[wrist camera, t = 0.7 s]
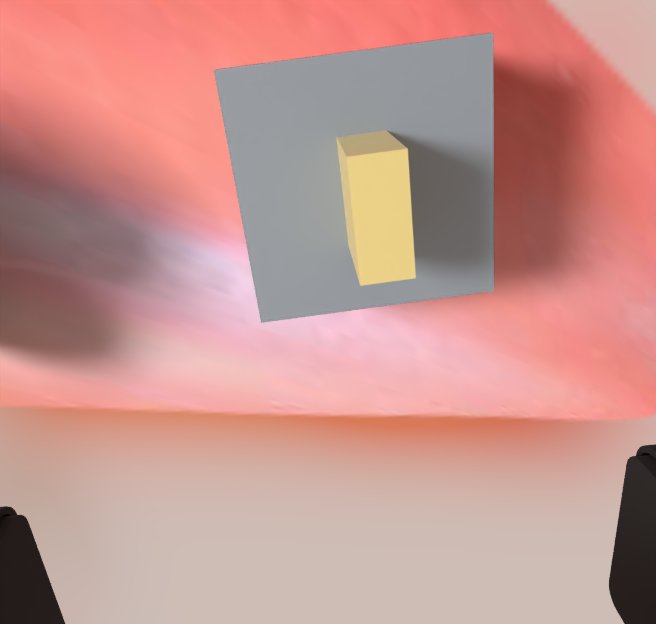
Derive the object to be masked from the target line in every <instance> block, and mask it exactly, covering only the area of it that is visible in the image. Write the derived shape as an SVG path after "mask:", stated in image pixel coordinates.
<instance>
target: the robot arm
mask: <svg viewBox="0 0 656 624" xmlns="http://www.w3.org/2000/svg"><path fill="white" fill-rule="evenodd" d="M609 590H610V595H611V598H612V601H613V604H614V606H615V608H616V610H617V611H618V613H619V615H620V616H621V618H622V620H623V622H624V623H625V624H656V445H646V446H642V447H640V448H639V449H638V451H637V454H636V456H633V457H630V458H629V459H628V461H627V465H626V472H625V478H624V485H623V492H622V499H621V505H620V512H619V519H618V525H617V532H616V538H615V545H614V552H613V559H612V565H611V573H610V578H609ZM0 624H65V622H64V619H63V616H62V614H61V611H60V608H59V605H58V603H57V600H56V597H55V595H54V592H53V589H52V586H51V583H50V581H49V578H48V575H47V572H46V570H45V567H44V564H43V561H42V559H41V556H40V553H39V550H38V548H37V545H36V542H35V539H34V537H33V534H32V531H31V528H30V526H29V523H28V521H27V519H26V517H24V516H23V515H17V513H16V512H15V510H14V509H13V508H11V507H0Z"/></svg>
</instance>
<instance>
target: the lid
mask: <svg viewBox="0 0 656 624" xmlns="http://www.w3.org/2000/svg"><path fill="white" fill-rule="evenodd" d="M214 73H215V79H216V84H217V89H218V95H219V100H220V105H221V111H222V116H223V121H224V126H225V132H226V137H227V142H228V148H229V153H230V158H231V164H232V169H233V174H234V180H235V185H236V190H237V196H238V201H239V206H240V212H241V217H242V222H243V228H244V233H245V238H246V244H247V249H248V254H249V260H250V265H251V270H252V276H253V281H254V286H255V292H256V297H257V302H258V308H259V313H260V318H261V323H262V322H269V321H277V320H284V319H292V318H299V317H306V316H314V315H321V314H328V313H336V312H343V311H351V310H358V309H365V308H373V307H380V306H387V305H395V304H402V303H410V302H417V301H424V300H432V299H439V298H446V297H454V296H461V295H469V294H476V293H483V292H491V291H494V84H493V33H485V34H478V35H470V36H463V37H455V38H448V39H440V40H433V41H425V42H418V43H410V44H403V45H395V46H388V47H380V48H373V49H365V50H358V51H350V52H343V53H335V54H328V55H320V56H313V57H305V58H298V59H290V60H283V61H275V62H268V63H260V64H253V65H245V66H238V67H230V68H223V69H216V70H214Z"/></svg>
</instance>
